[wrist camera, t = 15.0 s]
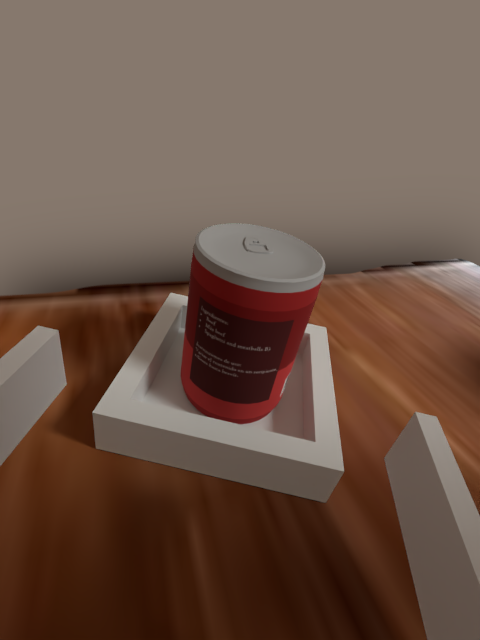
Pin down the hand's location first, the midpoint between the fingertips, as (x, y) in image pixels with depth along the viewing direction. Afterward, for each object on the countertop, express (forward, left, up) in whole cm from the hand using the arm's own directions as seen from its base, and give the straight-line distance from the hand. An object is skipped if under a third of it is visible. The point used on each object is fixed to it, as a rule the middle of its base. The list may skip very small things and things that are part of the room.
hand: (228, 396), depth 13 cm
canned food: (0, -10, -9) cm, 13 cm away
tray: (0, -10, -10) cm, 14 cm away
